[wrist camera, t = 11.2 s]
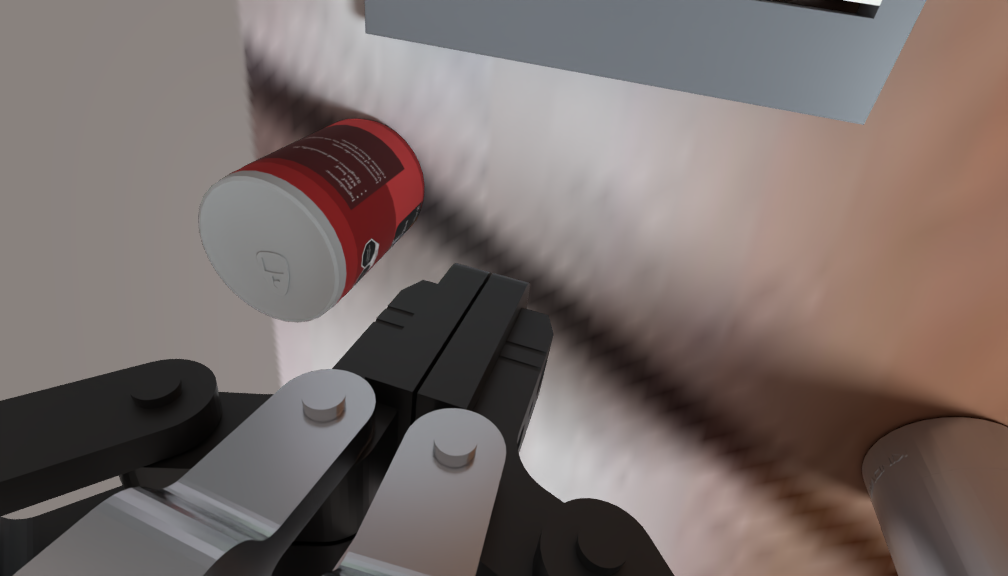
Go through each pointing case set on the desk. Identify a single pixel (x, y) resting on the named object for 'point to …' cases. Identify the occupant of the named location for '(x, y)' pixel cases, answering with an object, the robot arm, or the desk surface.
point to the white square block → (867, 1)
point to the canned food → (311, 217)
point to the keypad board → (680, 44)
